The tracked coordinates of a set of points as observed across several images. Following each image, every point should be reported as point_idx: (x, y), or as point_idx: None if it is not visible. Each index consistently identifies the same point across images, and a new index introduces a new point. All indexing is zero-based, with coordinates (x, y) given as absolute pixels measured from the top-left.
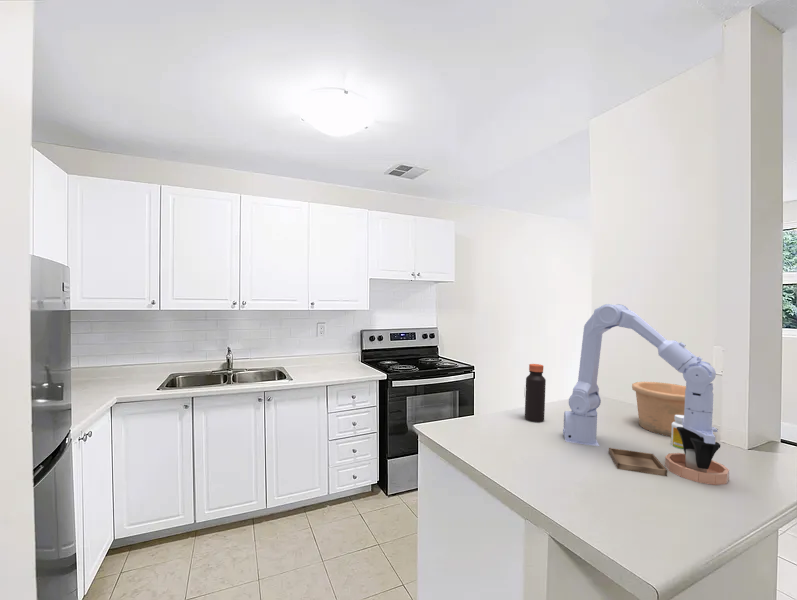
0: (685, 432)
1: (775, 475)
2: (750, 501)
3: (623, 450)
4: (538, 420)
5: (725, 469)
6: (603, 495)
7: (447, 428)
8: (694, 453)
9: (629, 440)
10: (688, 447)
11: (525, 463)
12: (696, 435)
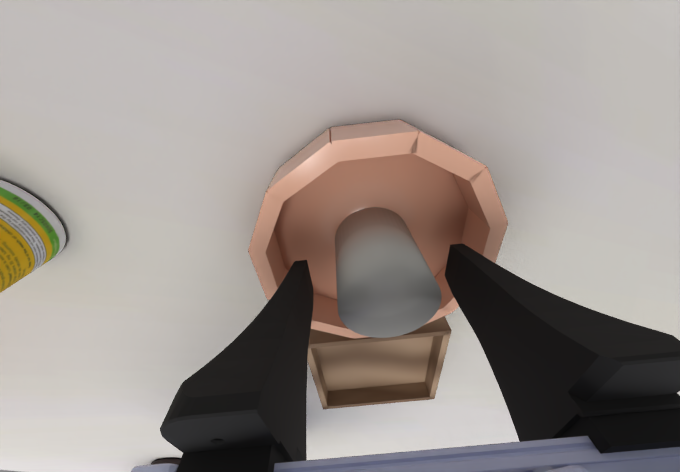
0: (300, 433)
1: None
2: (601, 94)
3: (322, 391)
4: None
5: (416, 151)
6: None
7: None
8: (414, 316)
9: (132, 355)
10: (307, 319)
11: (441, 447)
12: (282, 380)
